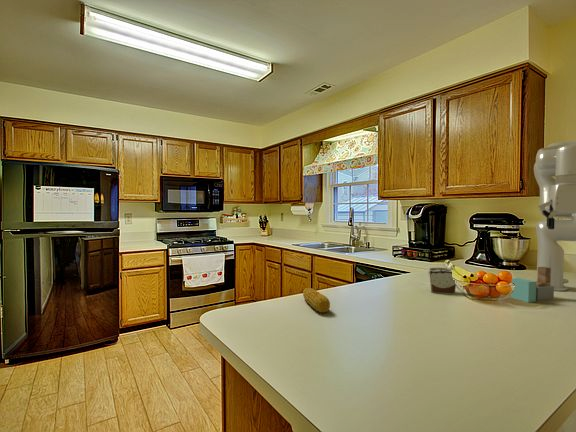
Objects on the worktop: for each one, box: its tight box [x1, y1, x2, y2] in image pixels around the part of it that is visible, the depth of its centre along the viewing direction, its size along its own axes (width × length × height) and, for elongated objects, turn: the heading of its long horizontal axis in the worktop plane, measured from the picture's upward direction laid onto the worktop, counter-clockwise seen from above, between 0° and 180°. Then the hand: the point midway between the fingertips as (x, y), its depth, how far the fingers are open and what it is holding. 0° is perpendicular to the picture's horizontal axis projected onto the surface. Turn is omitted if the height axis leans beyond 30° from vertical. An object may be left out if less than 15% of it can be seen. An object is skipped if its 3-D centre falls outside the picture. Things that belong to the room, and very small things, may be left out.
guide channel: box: [536, 286, 555, 302], centre depth 131 cm, size 9×6×5 cm, turn 108°
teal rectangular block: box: [510, 277, 537, 303], centre depth 128 cm, size 4×7×8 cm, turn 18°
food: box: [302, 287, 331, 314], centre depth 117 cm, size 21×6×6 cm, turn 15°
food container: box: [427, 267, 457, 295], centre depth 139 cm, size 12×6×10 cm, turn 84°
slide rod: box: [536, 267, 551, 287], centre depth 131 cm, size 7×3×9 cm, turn 108°
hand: (567, 229), depth 113 cm, fingers open, 9 cm apart
